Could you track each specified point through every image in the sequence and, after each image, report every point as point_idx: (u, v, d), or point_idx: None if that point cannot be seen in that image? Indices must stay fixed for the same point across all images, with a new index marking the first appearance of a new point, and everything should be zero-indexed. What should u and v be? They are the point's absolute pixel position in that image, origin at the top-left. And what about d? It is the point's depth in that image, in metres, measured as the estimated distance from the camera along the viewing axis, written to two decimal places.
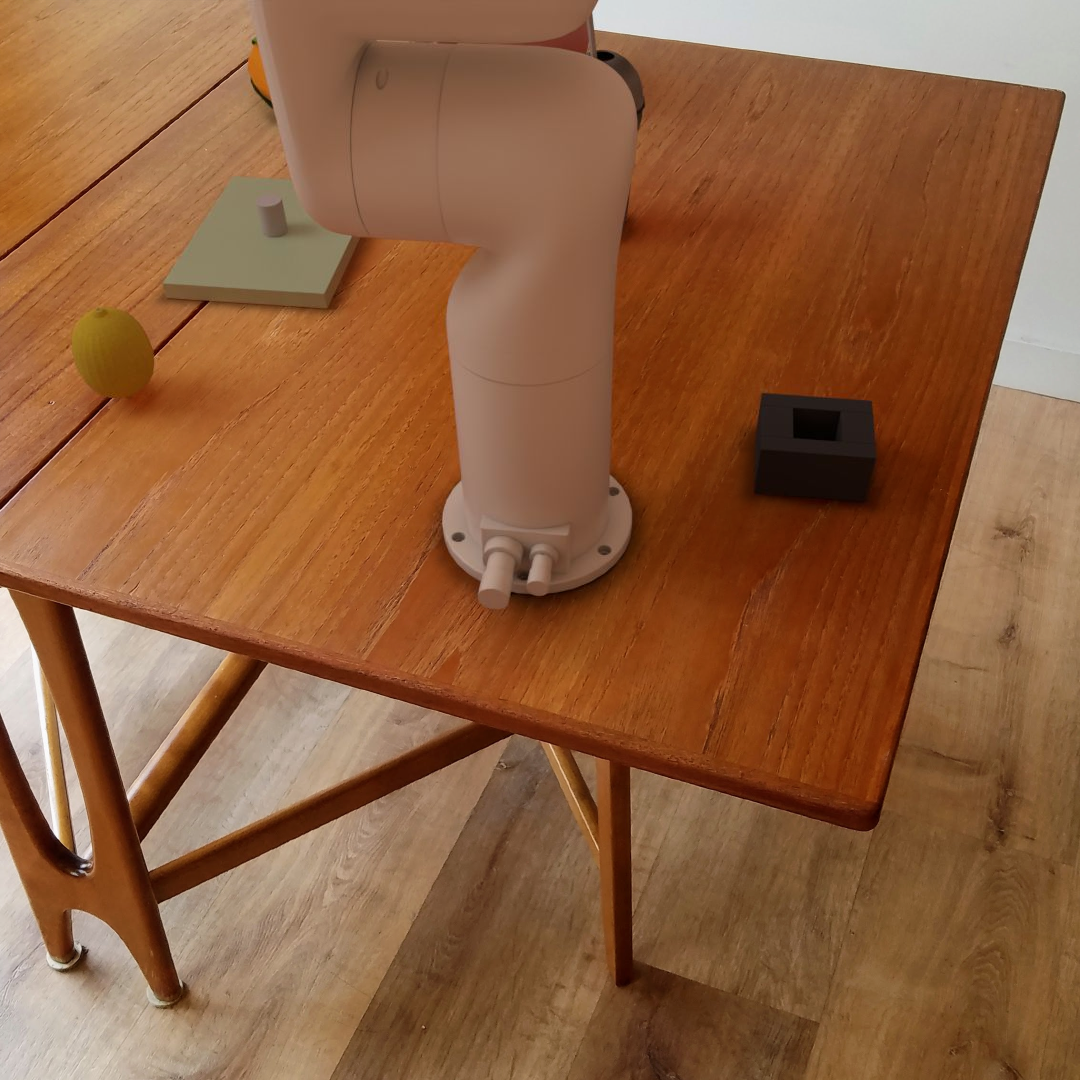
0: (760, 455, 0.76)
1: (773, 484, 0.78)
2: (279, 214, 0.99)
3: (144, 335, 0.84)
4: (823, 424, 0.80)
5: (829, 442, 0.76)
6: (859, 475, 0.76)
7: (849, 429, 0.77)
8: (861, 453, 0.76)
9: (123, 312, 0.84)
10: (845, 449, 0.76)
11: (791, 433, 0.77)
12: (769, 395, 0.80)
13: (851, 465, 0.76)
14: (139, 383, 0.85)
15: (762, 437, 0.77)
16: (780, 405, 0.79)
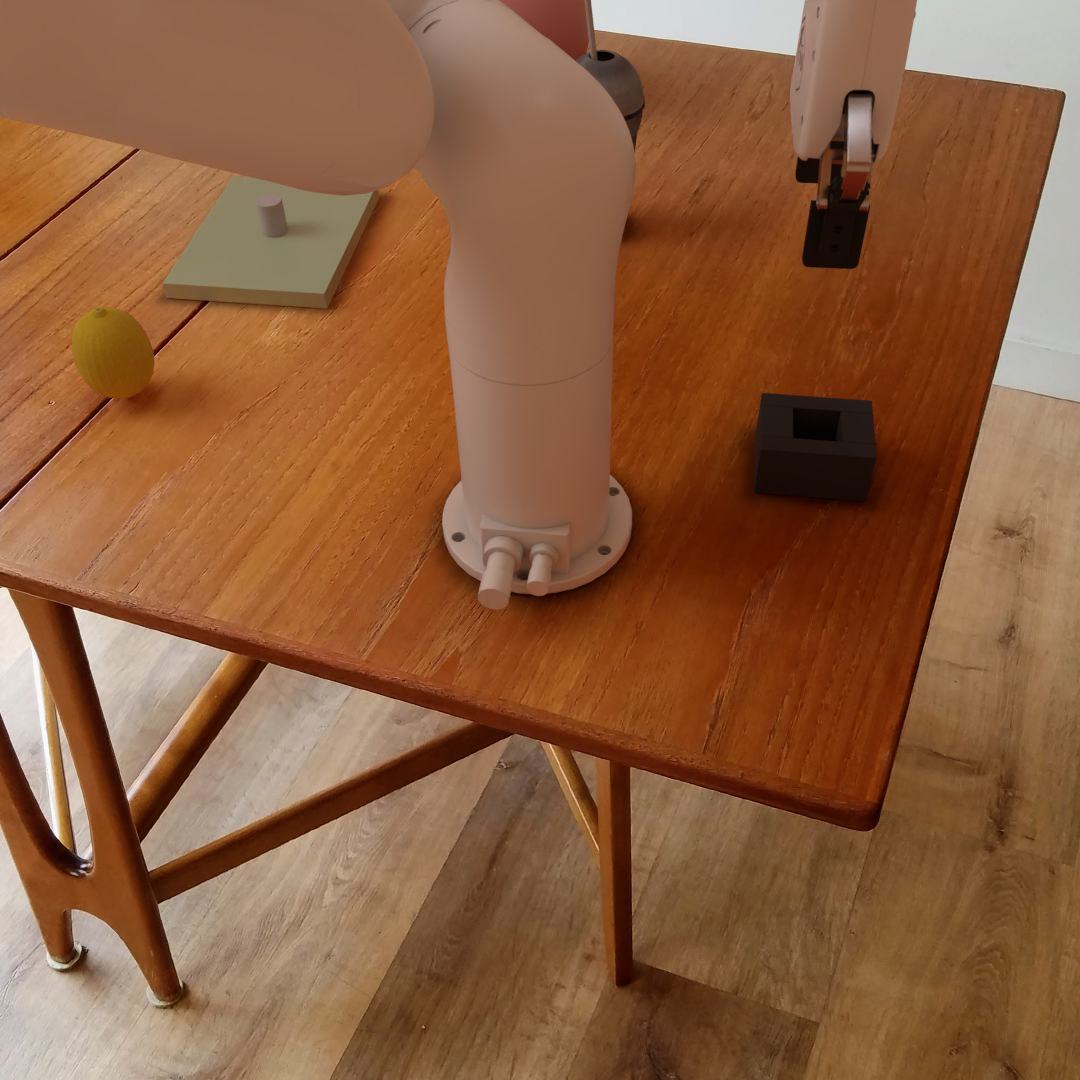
0: (760, 455, 0.76)
1: (773, 484, 0.78)
2: (279, 214, 0.99)
3: (144, 335, 0.84)
4: (823, 424, 0.80)
5: (829, 442, 0.76)
6: (859, 475, 0.76)
7: (849, 429, 0.77)
8: (861, 453, 0.76)
9: (123, 312, 0.84)
10: (845, 449, 0.76)
11: (791, 433, 0.77)
12: (769, 395, 0.80)
13: (851, 465, 0.76)
14: (139, 383, 0.85)
15: (762, 437, 0.77)
16: (780, 405, 0.79)
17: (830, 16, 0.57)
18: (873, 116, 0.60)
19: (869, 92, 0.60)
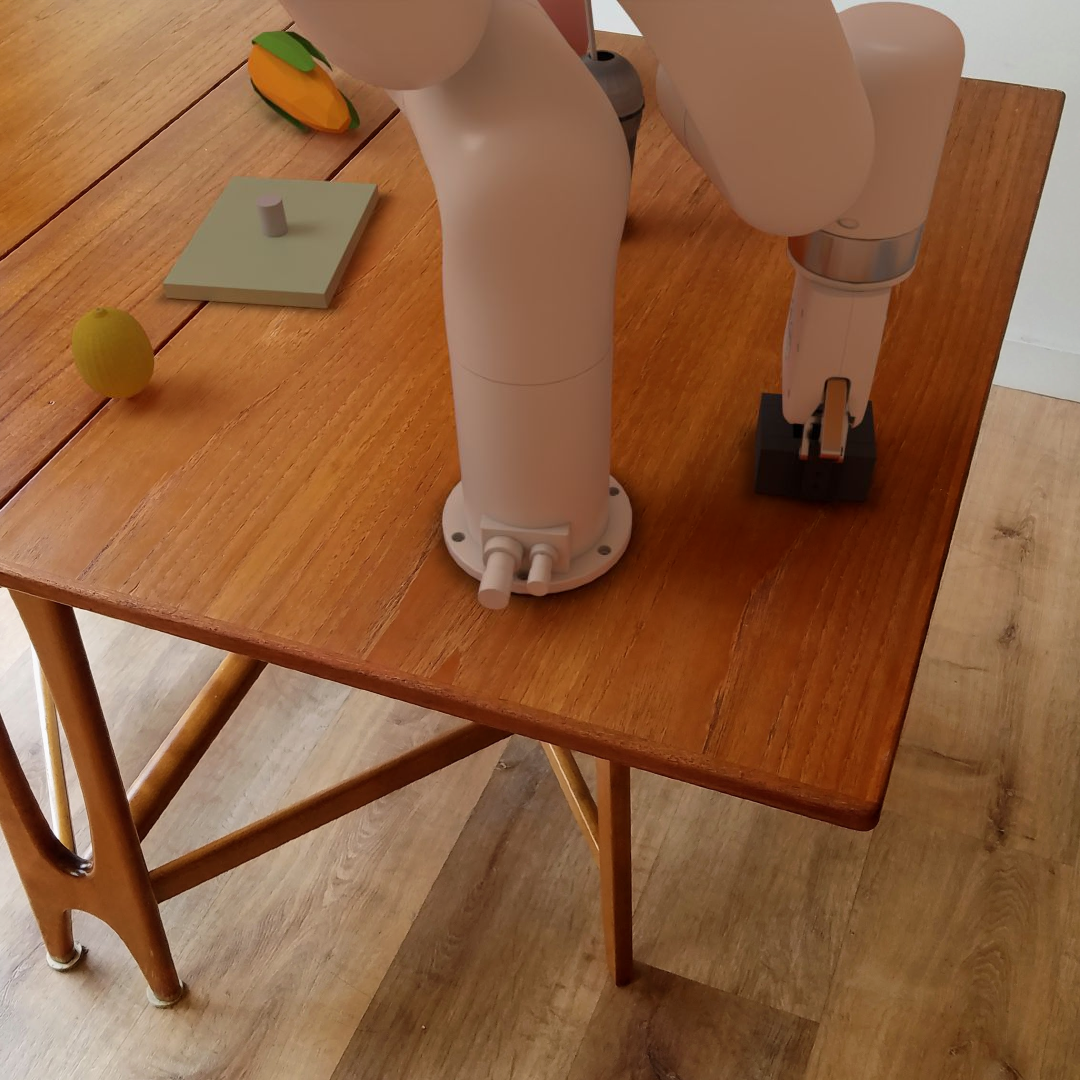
0: (760, 455, 0.76)
1: (773, 484, 0.78)
2: (279, 214, 0.99)
3: (144, 335, 0.84)
4: None
5: None
6: (859, 475, 0.76)
7: (849, 429, 0.77)
8: (861, 453, 0.76)
9: (123, 312, 0.84)
10: (845, 449, 0.76)
11: (791, 433, 0.77)
12: (770, 395, 0.80)
13: (851, 465, 0.76)
14: (139, 383, 0.85)
15: (762, 437, 0.77)
16: (780, 405, 0.79)
17: (812, 321, 0.67)
18: (849, 396, 0.69)
19: (845, 383, 0.69)
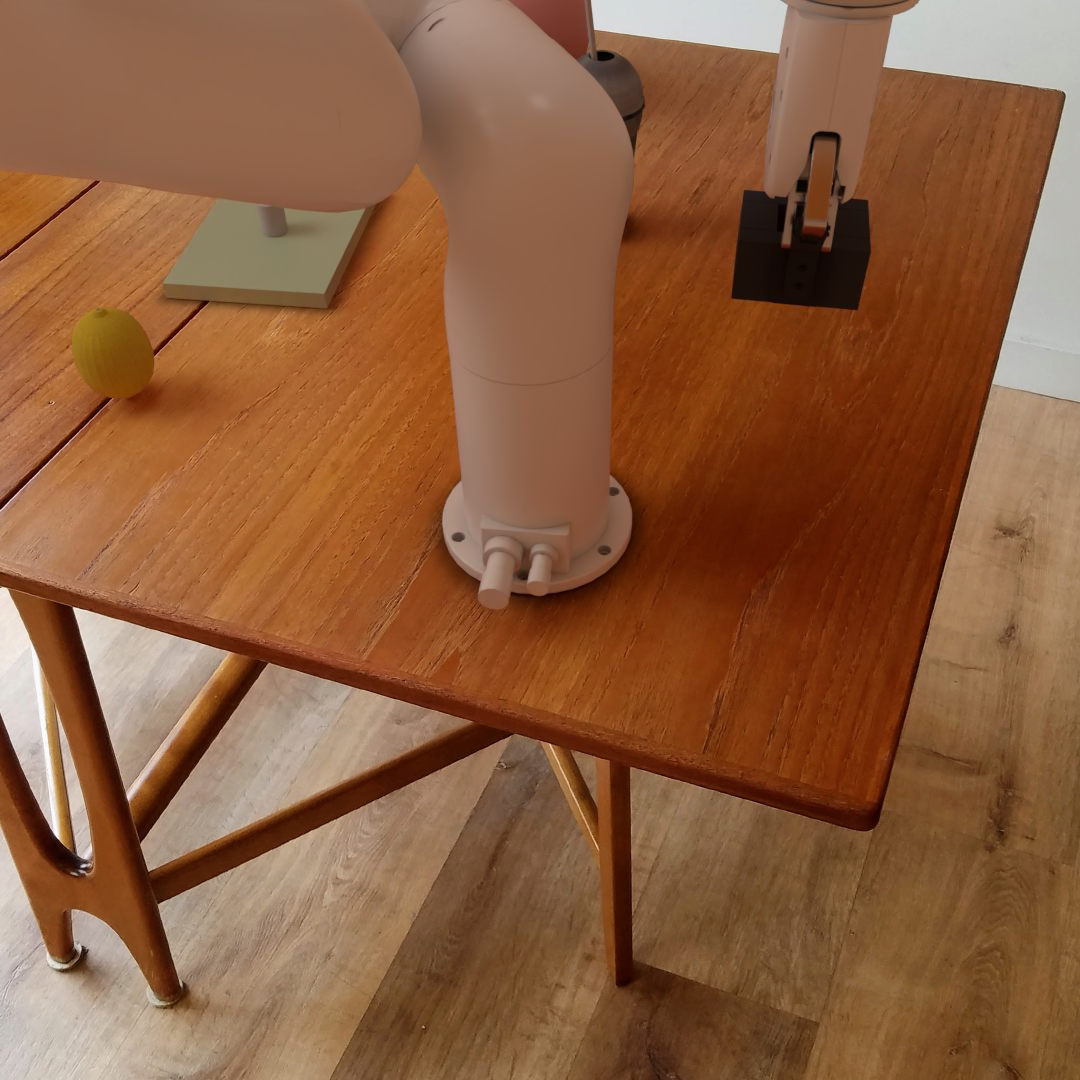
0: (738, 249, 0.67)
1: (753, 287, 0.69)
2: (279, 214, 0.99)
3: (144, 335, 0.84)
4: None
5: None
6: (851, 275, 0.67)
7: (841, 225, 0.68)
8: (853, 247, 0.66)
9: (123, 312, 0.84)
10: (835, 243, 0.66)
11: (775, 227, 0.68)
12: (753, 192, 0.70)
13: (842, 261, 0.66)
14: (139, 383, 0.85)
15: (741, 229, 0.67)
16: (764, 201, 0.70)
17: (797, 57, 0.57)
18: (839, 158, 0.60)
19: (834, 141, 0.60)
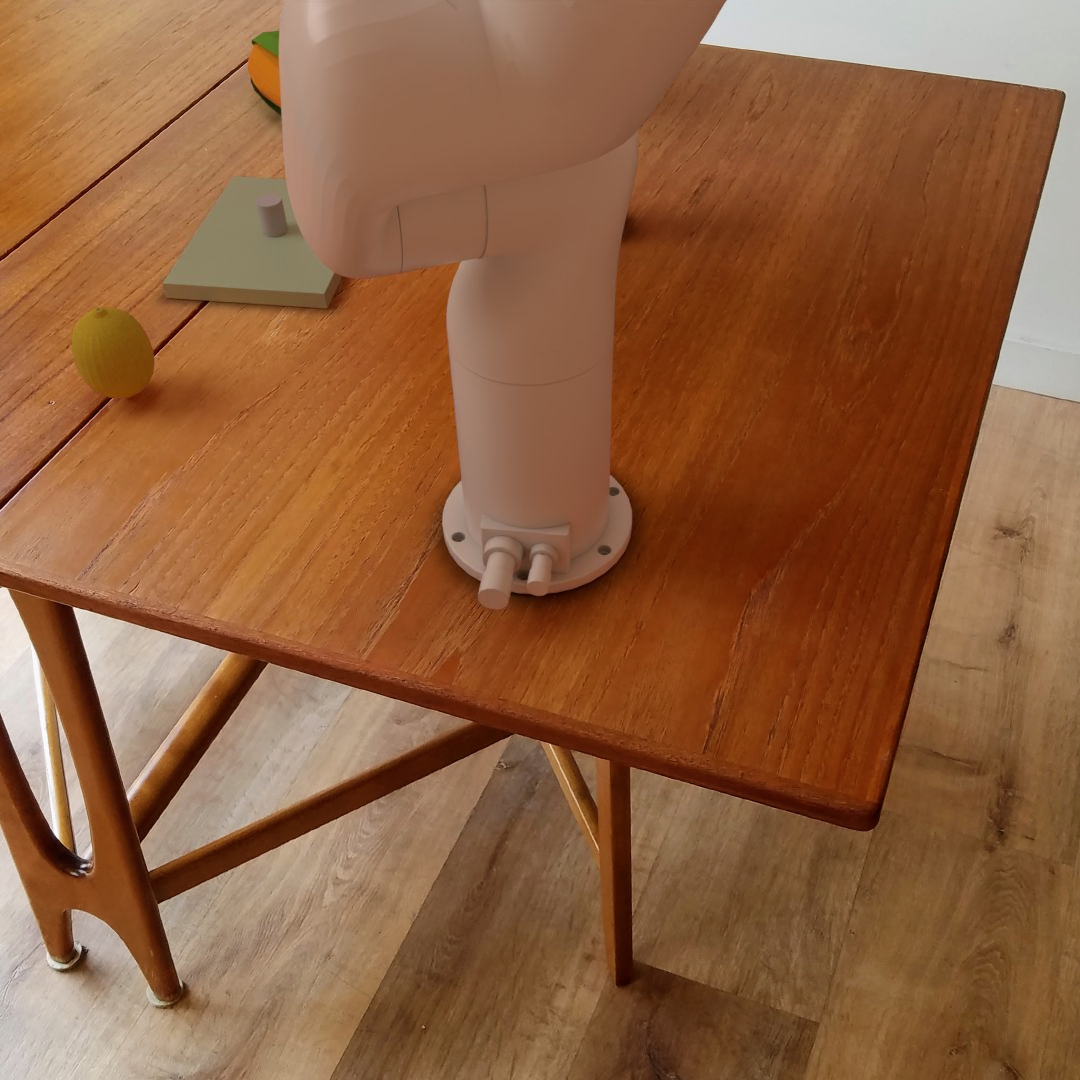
0: None
1: None
2: (279, 214, 0.99)
3: (144, 335, 0.84)
4: None
5: None
6: None
7: None
8: None
9: (123, 312, 0.84)
10: None
11: None
12: None
13: None
14: (139, 383, 0.85)
15: None
16: None
17: None
18: None
19: None
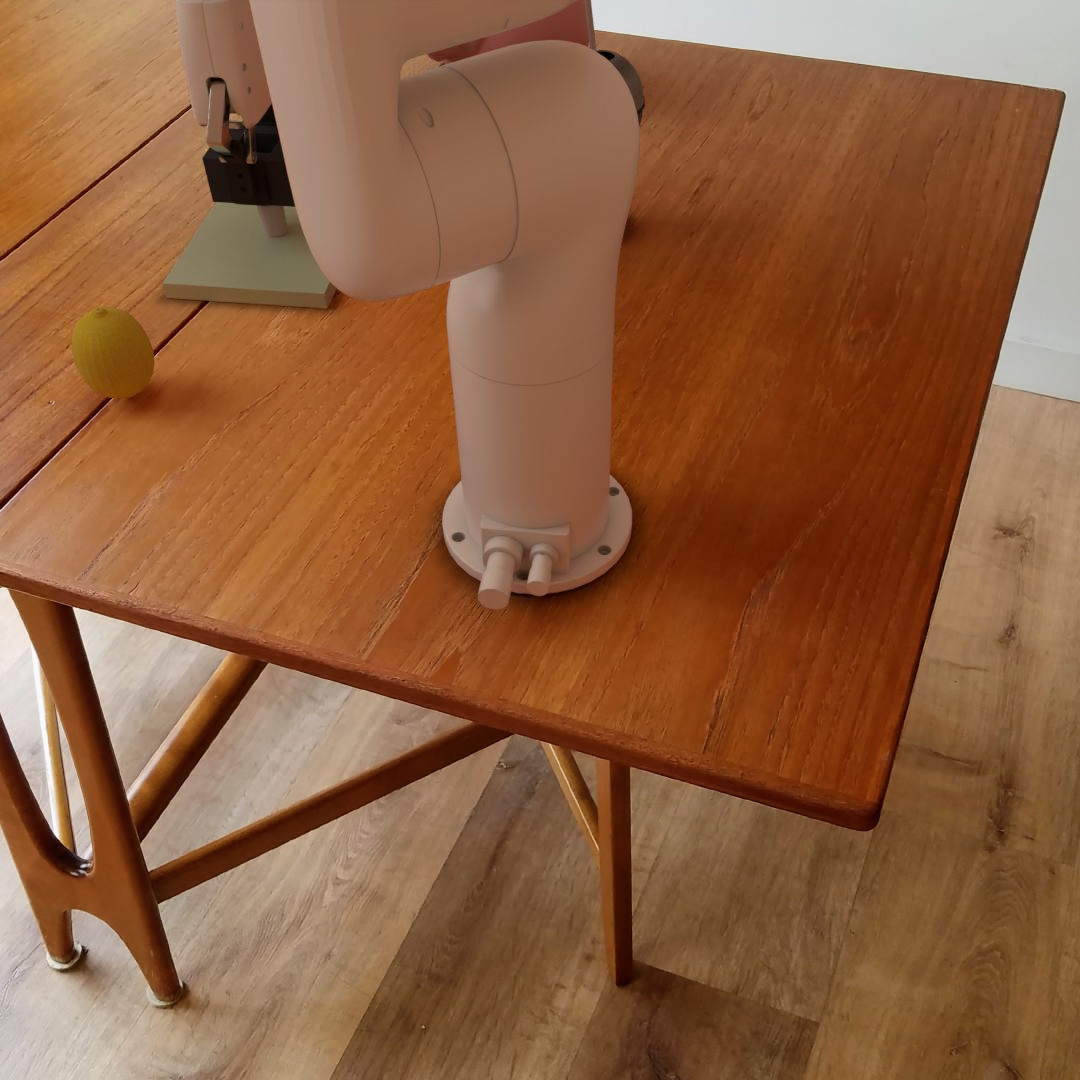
0: (204, 164, 0.94)
1: (224, 192, 0.96)
2: (279, 214, 0.99)
3: (144, 335, 0.84)
4: (273, 148, 0.97)
5: (258, 153, 0.94)
6: (284, 180, 0.94)
7: None
8: (280, 160, 0.93)
9: (123, 312, 0.84)
10: (269, 157, 0.94)
11: None
12: None
13: (274, 171, 0.94)
14: (139, 383, 0.85)
15: (208, 150, 0.95)
16: (235, 131, 0.97)
17: (180, 26, 0.85)
18: (229, 95, 0.87)
19: (223, 84, 0.87)
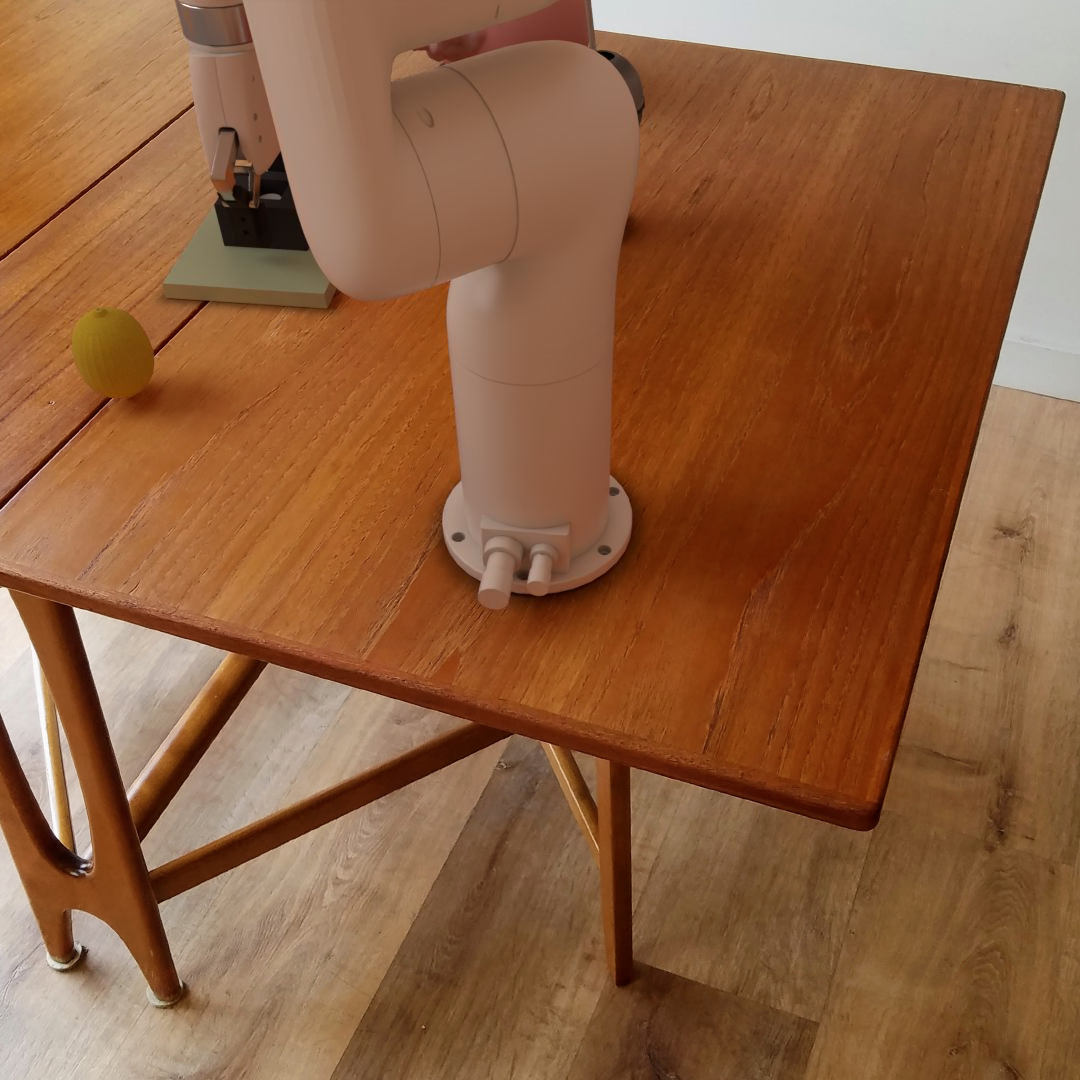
0: (216, 210, 0.97)
1: None
2: None
3: (144, 335, 0.84)
4: (282, 193, 1.00)
5: (268, 200, 0.97)
6: (293, 226, 0.97)
7: (290, 191, 0.98)
8: (289, 206, 0.96)
9: (123, 312, 0.84)
10: (278, 204, 0.97)
11: None
12: None
13: (284, 216, 0.97)
14: (139, 383, 0.85)
15: None
16: (246, 177, 1.00)
17: (193, 79, 0.87)
18: (241, 144, 0.90)
19: (234, 128, 0.89)
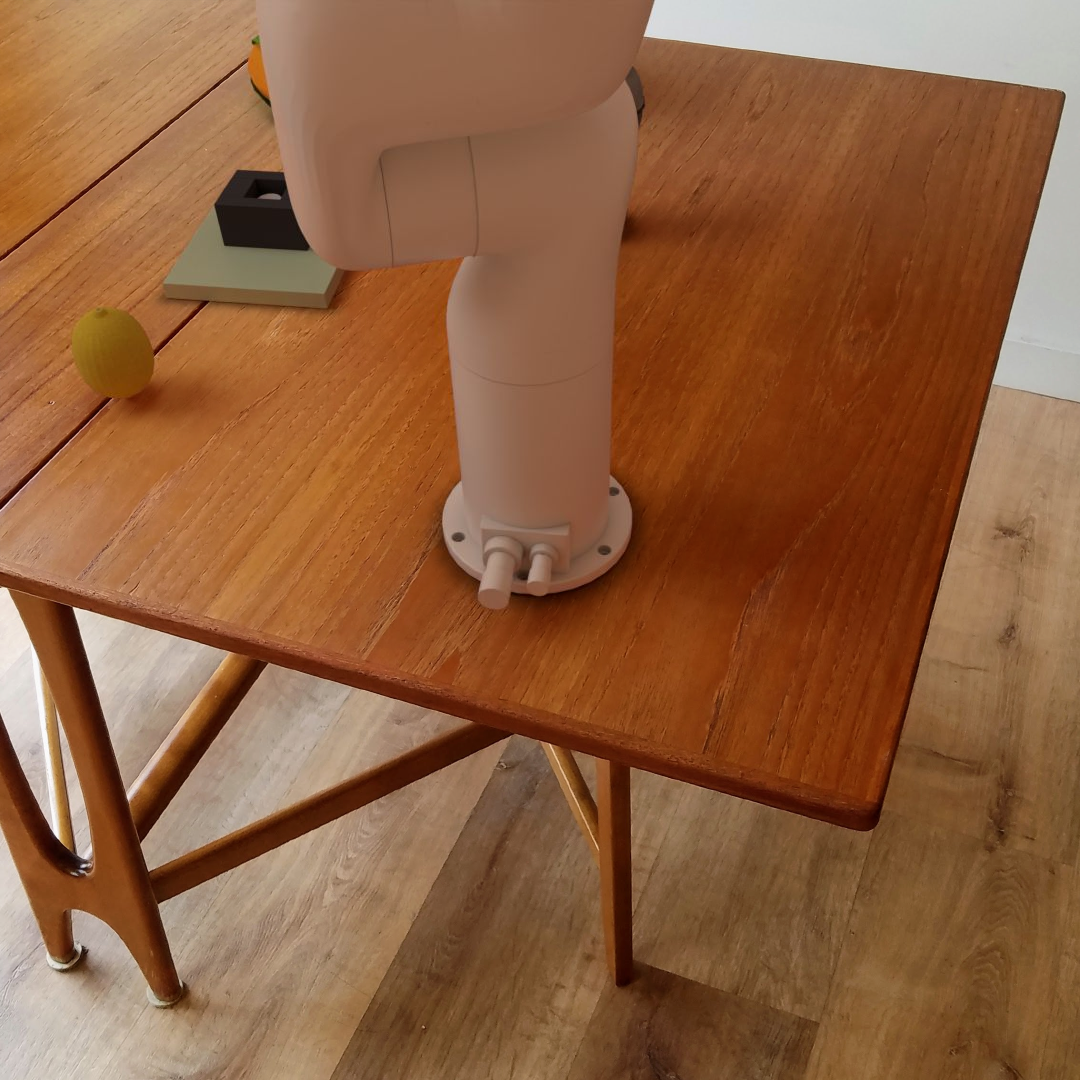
0: (216, 210, 0.97)
1: (235, 237, 0.99)
2: None
3: (144, 335, 0.84)
4: (282, 193, 1.00)
5: (268, 200, 0.97)
6: (293, 226, 0.97)
7: None
8: (289, 206, 0.96)
9: (123, 312, 0.84)
10: (278, 204, 0.97)
11: (243, 194, 0.98)
12: (241, 171, 1.01)
13: (284, 216, 0.97)
14: (139, 383, 0.85)
15: (219, 197, 0.98)
16: (246, 177, 1.00)
17: None
18: None
19: None
